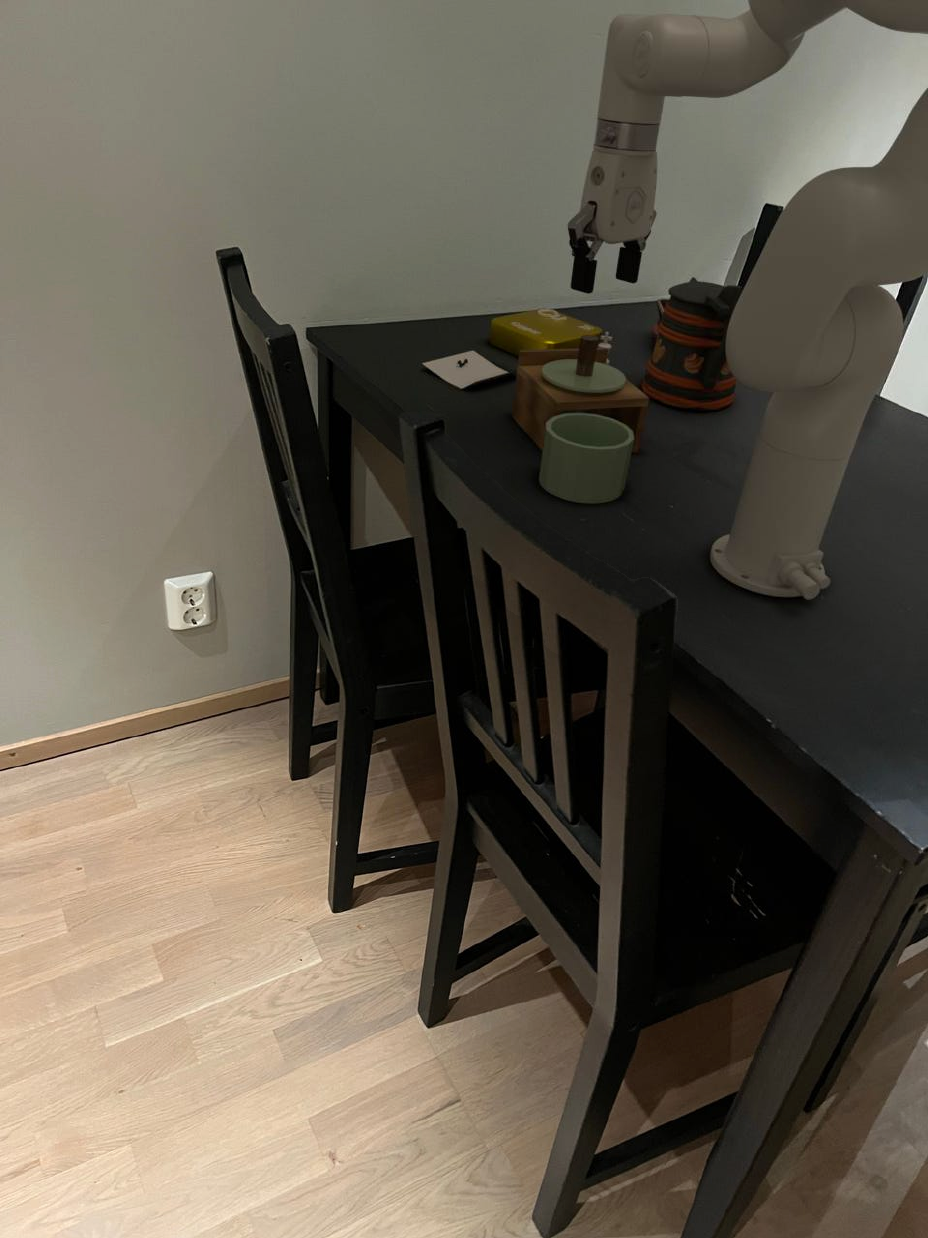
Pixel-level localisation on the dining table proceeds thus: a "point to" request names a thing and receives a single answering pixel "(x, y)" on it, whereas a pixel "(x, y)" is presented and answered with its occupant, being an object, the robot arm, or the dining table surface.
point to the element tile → (539, 331)
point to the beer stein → (693, 348)
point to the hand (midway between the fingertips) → (604, 285)
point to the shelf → (570, 396)
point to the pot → (585, 457)
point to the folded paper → (466, 369)
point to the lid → (584, 371)
